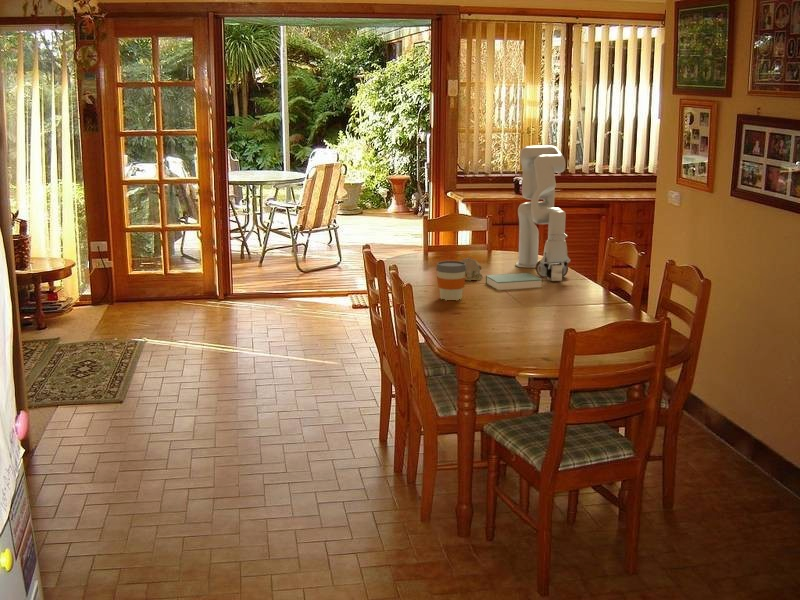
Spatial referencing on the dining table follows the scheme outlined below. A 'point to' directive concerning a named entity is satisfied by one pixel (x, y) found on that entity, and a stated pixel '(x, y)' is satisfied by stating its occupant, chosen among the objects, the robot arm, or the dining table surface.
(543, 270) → the tin
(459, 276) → the reusable coffee cup
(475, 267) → the ceramic model
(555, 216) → the robot arm
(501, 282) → the book
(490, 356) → the dining table surface
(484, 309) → the dining table surface
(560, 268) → the block
